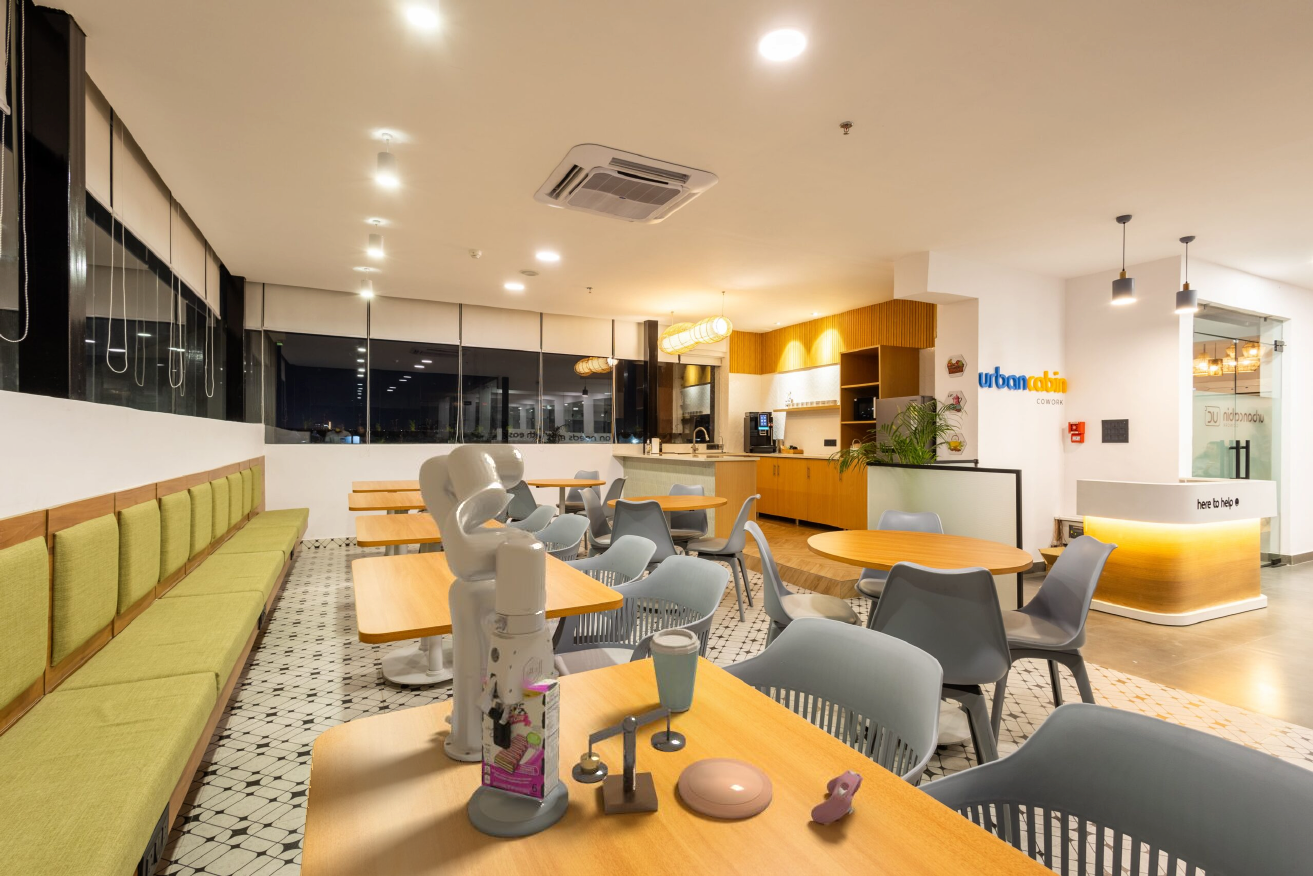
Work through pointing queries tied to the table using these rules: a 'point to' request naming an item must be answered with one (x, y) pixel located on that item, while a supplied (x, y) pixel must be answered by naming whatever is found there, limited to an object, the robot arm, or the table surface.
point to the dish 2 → (725, 788)
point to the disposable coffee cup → (675, 667)
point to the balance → (627, 765)
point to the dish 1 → (515, 811)
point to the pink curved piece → (838, 798)
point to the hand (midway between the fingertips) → (519, 736)
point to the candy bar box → (526, 744)
